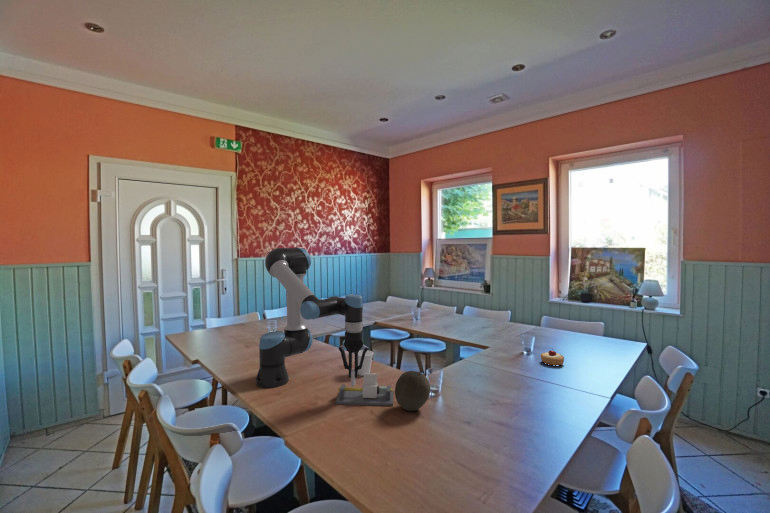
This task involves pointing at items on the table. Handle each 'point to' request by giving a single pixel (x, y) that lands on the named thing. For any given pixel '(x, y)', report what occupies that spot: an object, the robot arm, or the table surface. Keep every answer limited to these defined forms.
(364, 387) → the sleeve
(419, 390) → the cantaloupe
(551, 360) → the pastry
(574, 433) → the table surface
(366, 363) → the cup
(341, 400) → the horizontal rod stand
